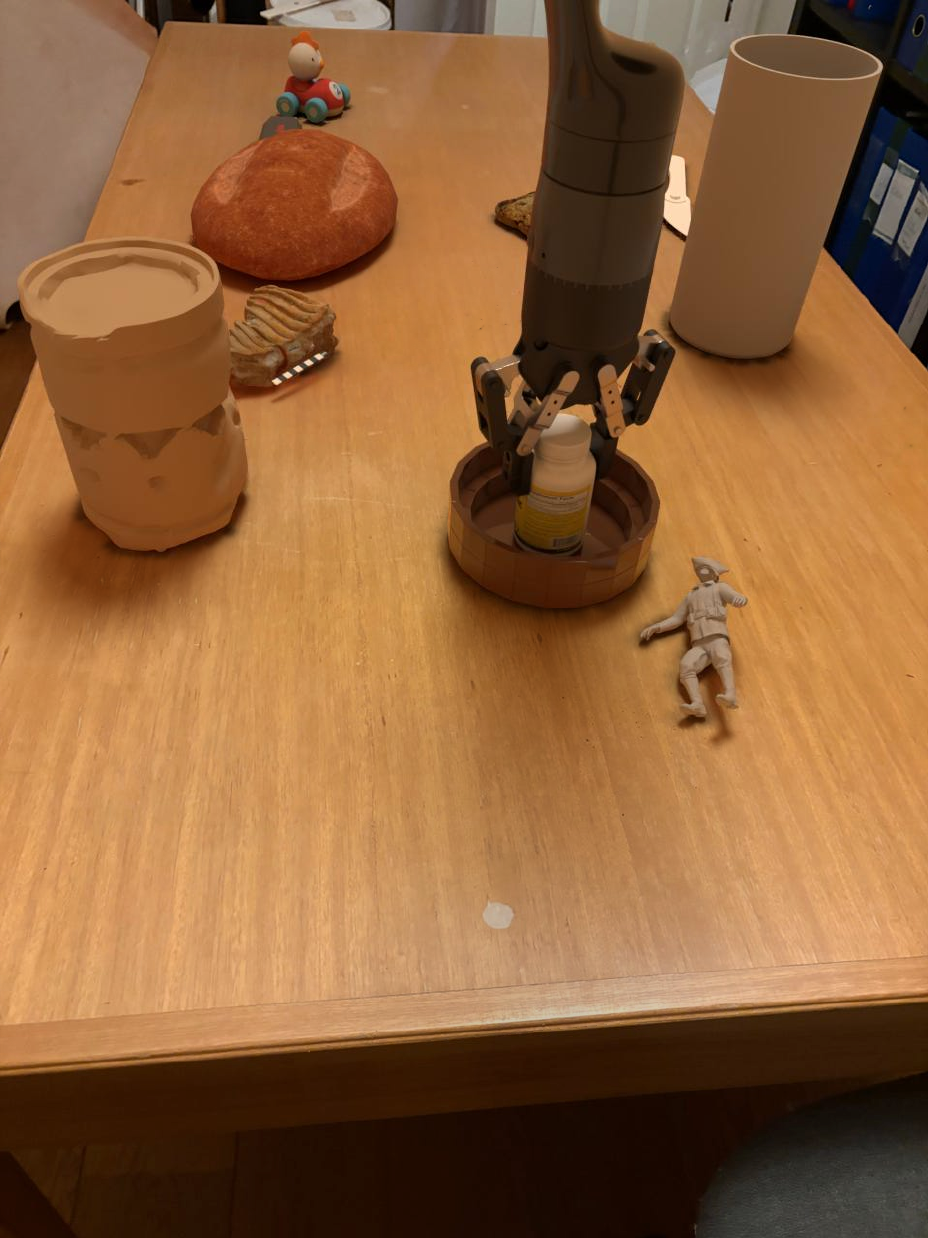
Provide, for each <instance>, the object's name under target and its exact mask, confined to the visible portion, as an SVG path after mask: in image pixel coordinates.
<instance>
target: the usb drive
mask: <svg viewBox="0 0 928 1238" xmlns="http://www.w3.org/2000/svg"><path fill="white" fill-rule="evenodd" d="M261 126H262V127H261V130H260V134H259V137H258V140H257V141H259V140H261V139H264V138H270V137H272V136H273V135H275V134H277V133H279V132H281V131H284V130H291V129H303V125H302V123H300V121H299V120H298V118H297V117H295V116H293V117H284V116H282V115H279V116H278V115H277V116H276V115H271V116H270V117H269V118H267V120H266V121H264V123H262V125H261Z"/></svg>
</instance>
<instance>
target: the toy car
mask: <svg viewBox="0 0 928 1238" xmlns="http://www.w3.org/2000/svg"><path fill="white" fill-rule="evenodd" d="M290 43H291V46H292V48H291V49H290V51H289V53H288V58H287V63H288V68H289V71H290V72H291V74H292V75H291V76H289V77H287V79H286V82H285V86H284V91H283V93H282V94H280V95H279V96H278V97H277V99H276V102H275V106H276V110H277V112H278V114H279V115H280V116H284V117H295V115H297V114H298V113H301V114H305V116H306V118H307V119H308V121H310V122H311V123H314V124H319V123H322V122H323V121H325V120H326V118H332V117H335V116H338V115H339V114H341V113H342V112H343V109H344V108H345V107H346V106H347V105H349V103H350V102H351V92H350V91H351V90H350V89H349V88H348V86H347V85H346V84H344V83H341V82H338V83H337V82H335V81H334V80H332V79H331V78H326V77H321V78H319V79H317V78H318V77H319V76H320V75H321V73H322V70H323V69H324V67H325V63H324V61H323V58H322V55H321V52H320V51H319V48H320V45H319V42H318V41H316V40H313V38H312V35H311V33H310V32H309V31H307V30H301V31H300V32H298V34H297V37H293V38H291V40H290Z"/></svg>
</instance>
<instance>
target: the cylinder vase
mask: <svg viewBox="0 0 928 1238" xmlns="http://www.w3.org/2000/svg"><path fill="white" fill-rule="evenodd" d="M725 63H726V64H725V67H724V72H723V77H722V79H721V80H722V81H721V85H720V89H719V93H718V98H717V103H716V106H715V110H714V111H715V112H714V116H713V120H712V124H711V125H712V126H711V129H710V134H709V138H708V143H707V147H706V151H705V156H704V161H703V164H702V169H701V174H700V178H699V182H698V187H697V191H696V194H695V199H694V204H693V208H692V212H691V221H690V226H689V230H688V235H687V236H686V239H685V244H684V249H683V253H682V256H681V257H682V258H681V262H680V266H679V270H678V274H677V279H676V284H675V288H674V292H673V297H672V301H671V306H670V309H669V322H670V325H671V327H672V329H673V330H674V332H675V333H676V334H677V335H678V336H679V337H680V338H681V339H682V340H683V341H685V342H686V343H687V344H689V345H690V346H692V347H695V348H696V349H698V350H700V351H703V352H706V353H708V354H712V355H715V356H718V357H724V358H731V359H738V360H739V359H740V360H749V359H750V360H751V359H760V358H765V357H769V356H772V355H774V354H777V353H779V352H781V351H782V350H784V349H785V348H787V346H788V345H789V344H790V342H791V340H792V339H793V337H794V333H795V331H796V328H797V324H798V322H799V319H800V317H801V313H802V310H803V307H804V304H805V301H806V298H807V295H808V292H809V289H810V286H811V283H812V280H813V277H814V274H815V272H816V268H817V265H818V262H819V259H820V256H821V253H822V250H823V247H824V244H825V241H826V239H827V235H828V232H829V229H830V226H831V223H832V222H833V221H832V220H833V218H834V215H835V212H836V208H837V206H838V203H839V200H840V197H841V194H842V190H843V188H844V184H845V181H846V180H847V179H846V178H847V176H848V172H849V170H850V167H851V164H852V161H853V158H854V155H855V152H856V149H857V146H858V143H859V140H860V137H861V134H862V131H863V129H864V125H865V123H866V119H867V116H868V113H869V110H870V107H871V104H872V101H873V98H874V95H875V92H876V90H877V87H878V83H879V80H880V77H881V75H882V71H883V69H884V65H883V63H882V62H881V60H880V59H879V58H877V57H876V56H874V54H873V55H872V54H871V53H870V52H868V51H865V50H863V49H860V48H858V47H855V46H852V45H849V44H845V43H842V42H839V41H834V40H829V39H825V38H819V37H813V36H807V35H797V34H786V33H785V34H784V33H772V34H771V33H765V34H764V33H763V34H754V35H748V36H742V37H740V38H737V39H735V40H733V41H732V42H731V43H730V45H729V50H728V54H727V59H726V62H725Z"/></svg>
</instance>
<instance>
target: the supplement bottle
mask: <svg viewBox="0 0 928 1238" xmlns="http://www.w3.org/2000/svg"><path fill="white" fill-rule="evenodd" d="M591 435H592V433H591V429H590V424H588V423H587V422H586V421H585V420H583V419H582V418H580V417H578V416H576V415H573V414H568V413H558V414H557V416H556V418H555V419H554V421H553V423H552V425H551V427H550V428H549V429H544V430H543V431H542V433H541V435H540V437H539V439H538V441H537V443H536V444H535V446H534V448H533V450H532V452H533V453H534V460H533V468H532V476H531V484H530V491H529V494H528V495H524V496H520V497H518V496H517V502H516V512H515V521H514V536H515V539H516V541H517V543H518V544H519V546H520V547H521V548H522V549H524V550H525V551H527V552H532V553H537V554H542V555H547V556H551V557H567V556H569V555H571V554H573V553H575V552H576V551H577V550H578V549H579V548H580V547H581V545H582V544H583V541H584V537H585V532H586V527H587V521H588V515H589V509H590V503H591V497H592V491H593V485H594V480H595V473H596V462H595V459H594V457H593V455H592V453H591V452H590V451H589V448H590V442H591Z"/></svg>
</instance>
